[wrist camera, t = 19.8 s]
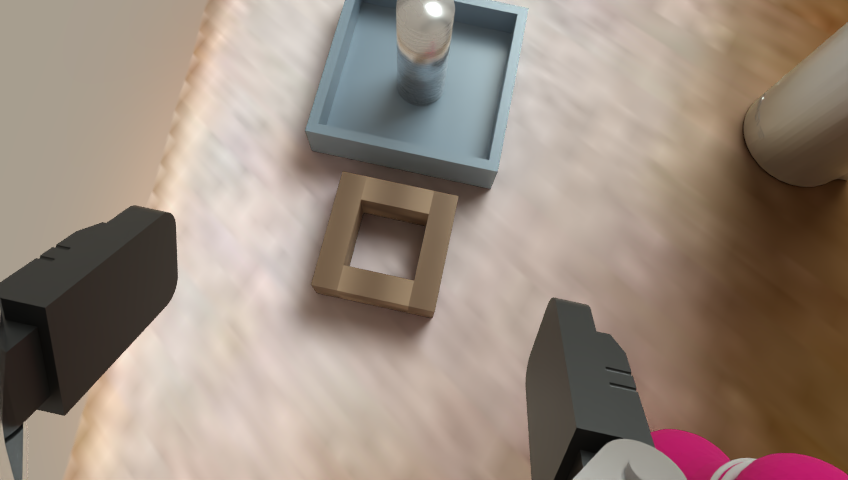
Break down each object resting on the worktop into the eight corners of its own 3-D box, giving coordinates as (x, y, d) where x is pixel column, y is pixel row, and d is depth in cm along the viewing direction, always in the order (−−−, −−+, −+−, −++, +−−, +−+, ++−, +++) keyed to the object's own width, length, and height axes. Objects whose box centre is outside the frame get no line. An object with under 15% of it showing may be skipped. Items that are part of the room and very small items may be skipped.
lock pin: (448, 69, 48) (459, -11, 38) (439, 110, 46) (448, 37, 37) (402, 60, 48) (403, -23, 39) (392, 100, 46) (390, 25, 37)
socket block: (454, 209, 45) (458, 196, 42) (432, 318, 42) (434, 311, 40) (346, 185, 45) (342, 171, 42) (316, 292, 43) (311, 284, 40)
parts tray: (519, 34, 50) (528, 8, 47) (490, 188, 46) (497, 171, 42) (356, 0, 50) (353, -29, 47) (312, 150, 46) (305, 130, 43)
